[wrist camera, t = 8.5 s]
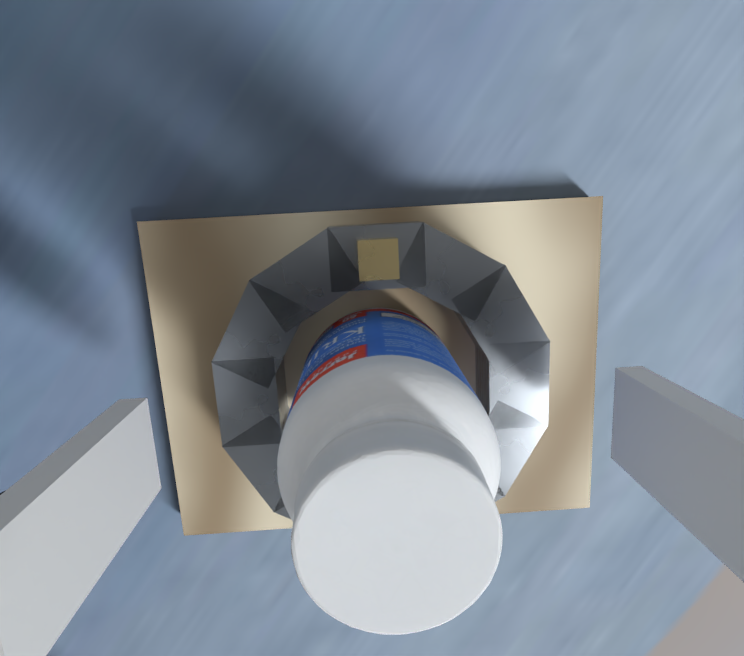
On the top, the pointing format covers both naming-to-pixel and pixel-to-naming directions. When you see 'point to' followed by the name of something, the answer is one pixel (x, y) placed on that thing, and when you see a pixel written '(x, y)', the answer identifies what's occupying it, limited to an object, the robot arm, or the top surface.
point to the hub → (374, 272)
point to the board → (289, 231)
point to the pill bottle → (389, 477)
